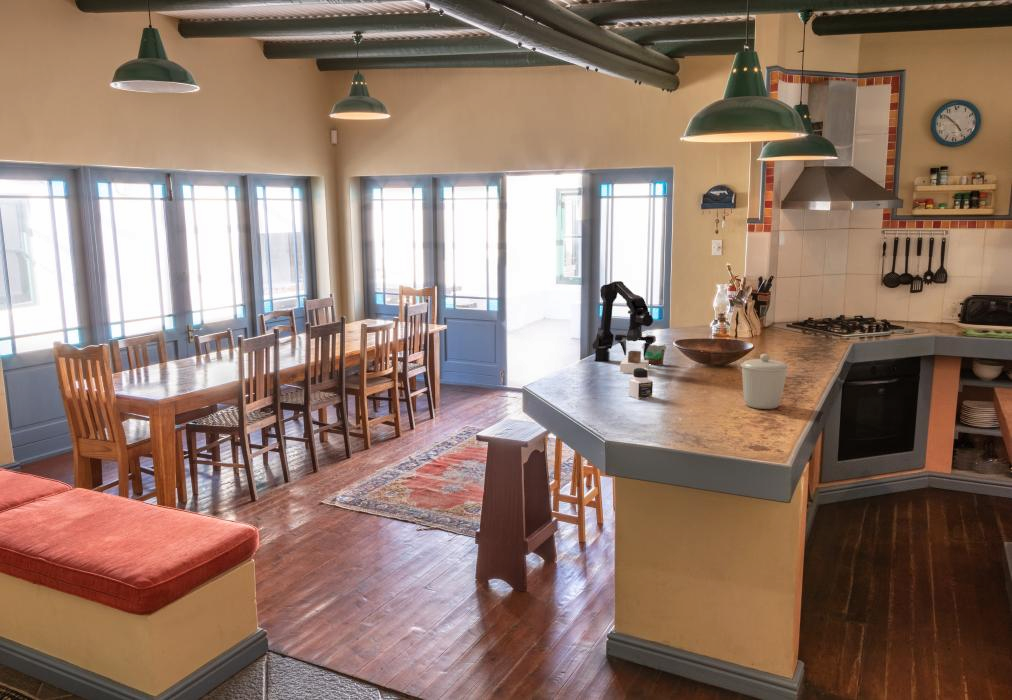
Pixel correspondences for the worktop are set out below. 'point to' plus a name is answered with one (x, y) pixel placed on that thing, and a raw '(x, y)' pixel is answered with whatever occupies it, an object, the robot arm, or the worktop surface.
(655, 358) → the food container
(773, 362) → the canister
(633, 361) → the walnut cube
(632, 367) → the plastic box
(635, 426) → the worktop surface
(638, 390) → the medicine bottle
